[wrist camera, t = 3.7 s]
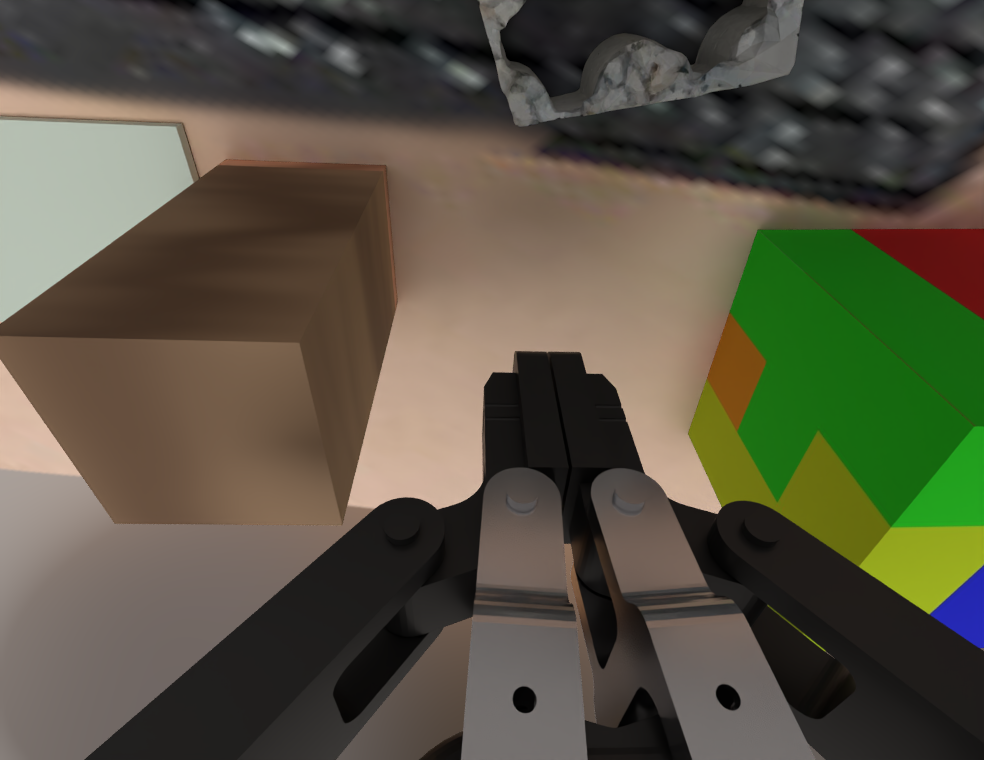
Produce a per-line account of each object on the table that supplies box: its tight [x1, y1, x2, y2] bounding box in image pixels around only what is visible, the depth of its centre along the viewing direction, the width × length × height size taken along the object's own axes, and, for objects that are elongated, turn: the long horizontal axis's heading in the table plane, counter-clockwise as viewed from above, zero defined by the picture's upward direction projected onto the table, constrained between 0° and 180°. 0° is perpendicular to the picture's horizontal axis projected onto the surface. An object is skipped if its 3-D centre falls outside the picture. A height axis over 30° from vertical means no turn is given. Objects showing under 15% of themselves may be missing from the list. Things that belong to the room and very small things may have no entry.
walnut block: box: [0, 159, 397, 525], centre depth 14 cm, size 5×5×10 cm
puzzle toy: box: [688, 229, 984, 651], centre depth 17 cm, size 10×10×10 cm
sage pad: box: [0, 116, 199, 322], centre depth 17 cm, size 9×7×1 cm
